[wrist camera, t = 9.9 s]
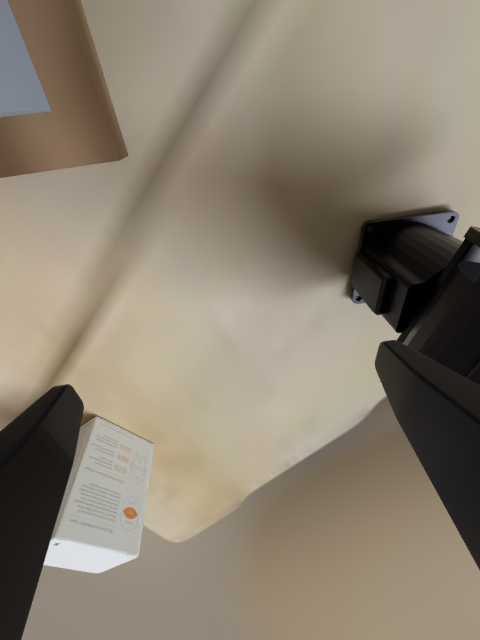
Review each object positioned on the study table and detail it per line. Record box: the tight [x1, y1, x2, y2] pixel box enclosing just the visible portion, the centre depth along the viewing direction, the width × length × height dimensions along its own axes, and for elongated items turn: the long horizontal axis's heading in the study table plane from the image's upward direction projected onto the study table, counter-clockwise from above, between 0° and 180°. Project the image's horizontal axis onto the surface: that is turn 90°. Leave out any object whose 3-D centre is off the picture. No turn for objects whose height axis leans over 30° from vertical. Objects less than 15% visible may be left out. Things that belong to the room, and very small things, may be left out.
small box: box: [43, 416, 155, 573], centre depth 27 cm, size 8×6×10 cm
